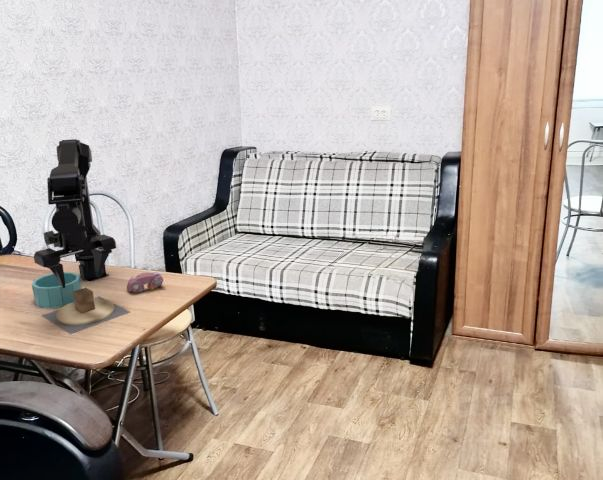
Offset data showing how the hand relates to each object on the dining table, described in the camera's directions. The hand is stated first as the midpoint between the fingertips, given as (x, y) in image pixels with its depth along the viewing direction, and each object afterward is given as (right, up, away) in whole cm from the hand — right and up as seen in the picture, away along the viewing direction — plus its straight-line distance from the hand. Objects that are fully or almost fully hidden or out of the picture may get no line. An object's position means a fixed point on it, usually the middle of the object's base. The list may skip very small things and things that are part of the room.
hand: (81, 282), depth 146 cm
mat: (0, -9, +3) cm, 9 cm away
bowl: (-11, -6, +12) cm, 17 cm away
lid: (0, -8, +2) cm, 9 cm away
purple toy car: (+12, -4, +18) cm, 21 cm away
